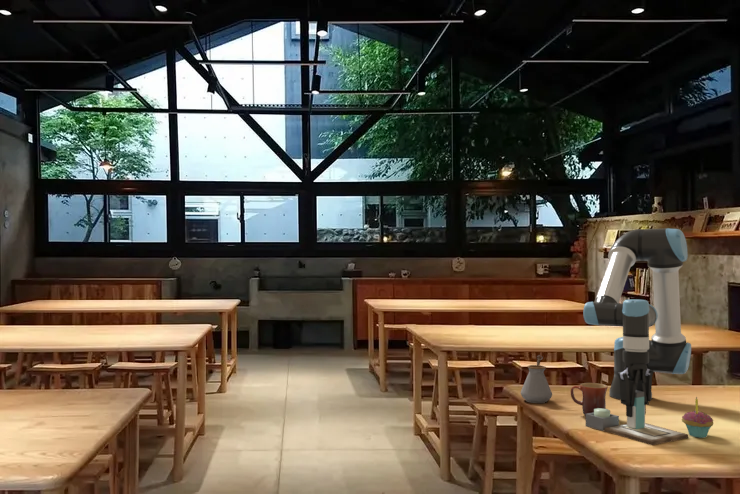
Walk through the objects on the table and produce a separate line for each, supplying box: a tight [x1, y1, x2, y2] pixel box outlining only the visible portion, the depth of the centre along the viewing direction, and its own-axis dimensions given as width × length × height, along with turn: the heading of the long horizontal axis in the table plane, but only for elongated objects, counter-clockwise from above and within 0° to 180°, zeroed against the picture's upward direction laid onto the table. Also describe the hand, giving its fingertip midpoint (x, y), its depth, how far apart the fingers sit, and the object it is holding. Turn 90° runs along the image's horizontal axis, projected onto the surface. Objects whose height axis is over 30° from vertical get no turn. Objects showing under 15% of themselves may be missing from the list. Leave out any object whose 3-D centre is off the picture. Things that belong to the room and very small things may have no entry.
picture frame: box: [604, 422, 689, 446], centre depth 197 cm, size 16×17×1 cm
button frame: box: [585, 413, 620, 432], centre depth 206 cm, size 7×7×4 cm
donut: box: [681, 396, 714, 439], centre depth 197 cm, size 9×8×12 cm
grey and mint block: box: [634, 390, 644, 429], centre depth 201 cm, size 3×3×11 cm
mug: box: [570, 382, 608, 417], centre depth 221 cm, size 12×9×10 cm
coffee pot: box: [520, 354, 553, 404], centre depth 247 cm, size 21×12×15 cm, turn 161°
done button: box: [594, 408, 611, 418], centre depth 206 cm, size 5×5×4 cm
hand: (636, 426), depth 201 cm, fingers closed on grey and mint block, 3 cm apart
